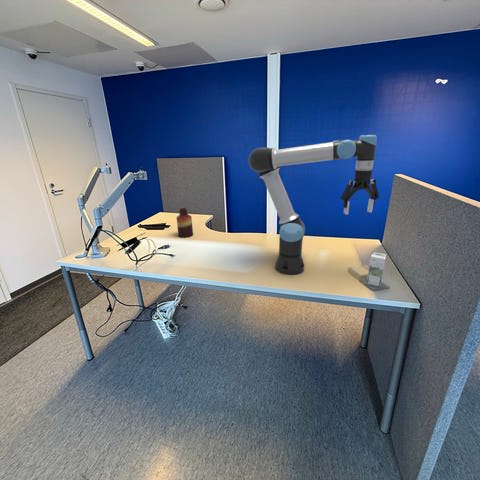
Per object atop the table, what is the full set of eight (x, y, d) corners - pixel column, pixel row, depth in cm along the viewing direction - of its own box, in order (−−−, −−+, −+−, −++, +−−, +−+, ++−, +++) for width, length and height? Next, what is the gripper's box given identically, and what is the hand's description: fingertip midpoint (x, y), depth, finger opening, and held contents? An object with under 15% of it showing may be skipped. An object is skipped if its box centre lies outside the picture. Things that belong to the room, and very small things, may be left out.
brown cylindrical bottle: (181, 238, 184) (178, 211, 177) (176, 234, 193) (173, 208, 186) (195, 236, 189) (192, 209, 182) (190, 232, 198) (187, 206, 191)
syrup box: (380, 281, 120) (386, 253, 115) (380, 287, 115) (385, 258, 110) (367, 279, 122) (372, 251, 117) (366, 284, 118) (370, 256, 113)
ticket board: (358, 280, 123) (359, 275, 122) (347, 271, 131) (348, 267, 130) (376, 277, 125) (377, 272, 124) (364, 269, 133) (365, 264, 132)
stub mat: (372, 290, 114) (372, 289, 114) (359, 281, 122) (359, 280, 122) (389, 288, 116) (389, 286, 115) (375, 278, 124) (375, 277, 124)
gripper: (345, 171, 116) (339, 216, 124) (392, 169, 121) (384, 212, 128) (335, 170, 123) (331, 212, 130) (380, 168, 128) (373, 209, 135)
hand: (357, 212), depth 130 cm, fingers open, 13 cm apart
